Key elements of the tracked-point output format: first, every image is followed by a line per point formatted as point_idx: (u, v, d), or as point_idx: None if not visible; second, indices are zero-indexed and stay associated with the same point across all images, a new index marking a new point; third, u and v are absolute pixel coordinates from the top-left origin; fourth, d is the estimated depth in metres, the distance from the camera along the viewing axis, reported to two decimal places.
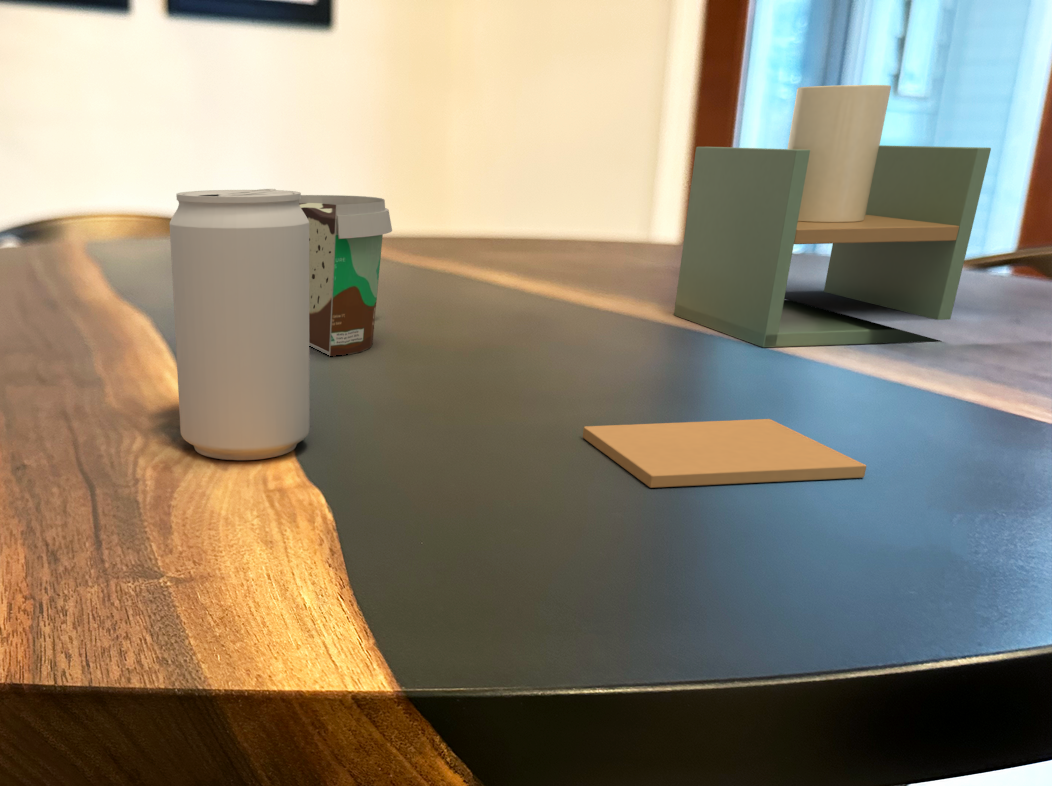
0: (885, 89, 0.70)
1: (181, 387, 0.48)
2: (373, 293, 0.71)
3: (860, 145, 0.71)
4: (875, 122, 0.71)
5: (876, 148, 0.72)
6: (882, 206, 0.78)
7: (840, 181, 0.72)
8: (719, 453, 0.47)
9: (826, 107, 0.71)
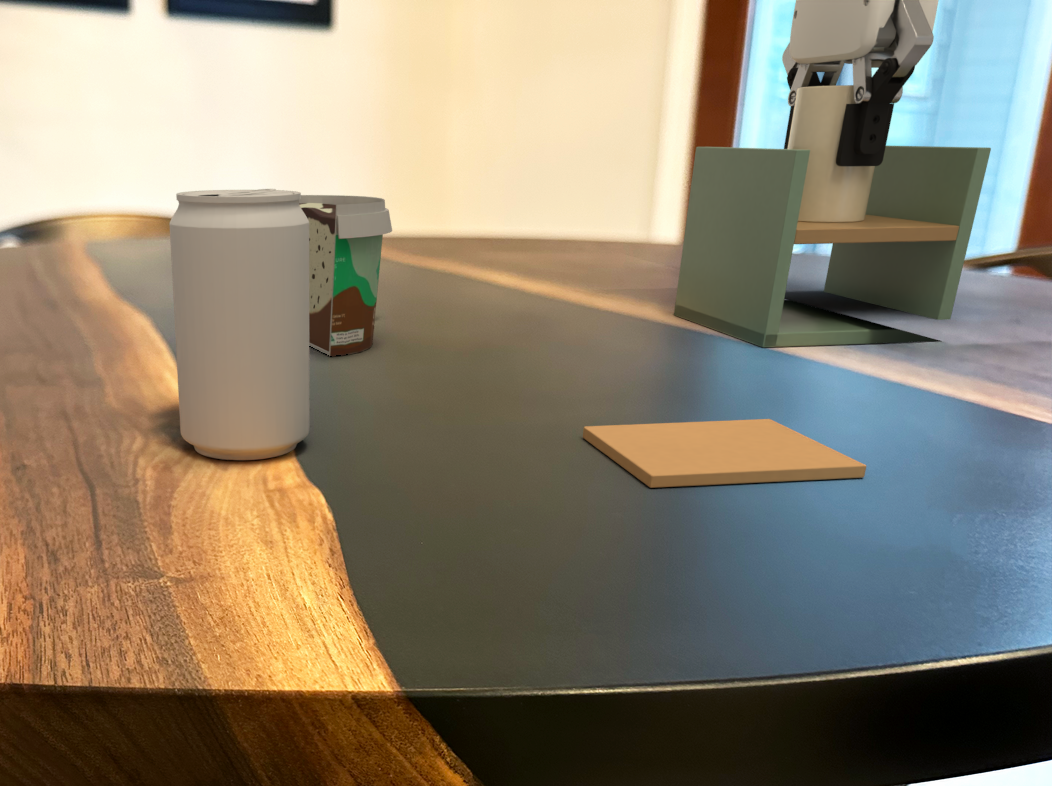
0: None
1: (181, 387, 0.48)
2: (373, 293, 0.71)
3: None
4: None
5: None
6: (882, 206, 0.78)
7: (840, 181, 0.72)
8: (719, 453, 0.47)
9: (826, 107, 0.71)
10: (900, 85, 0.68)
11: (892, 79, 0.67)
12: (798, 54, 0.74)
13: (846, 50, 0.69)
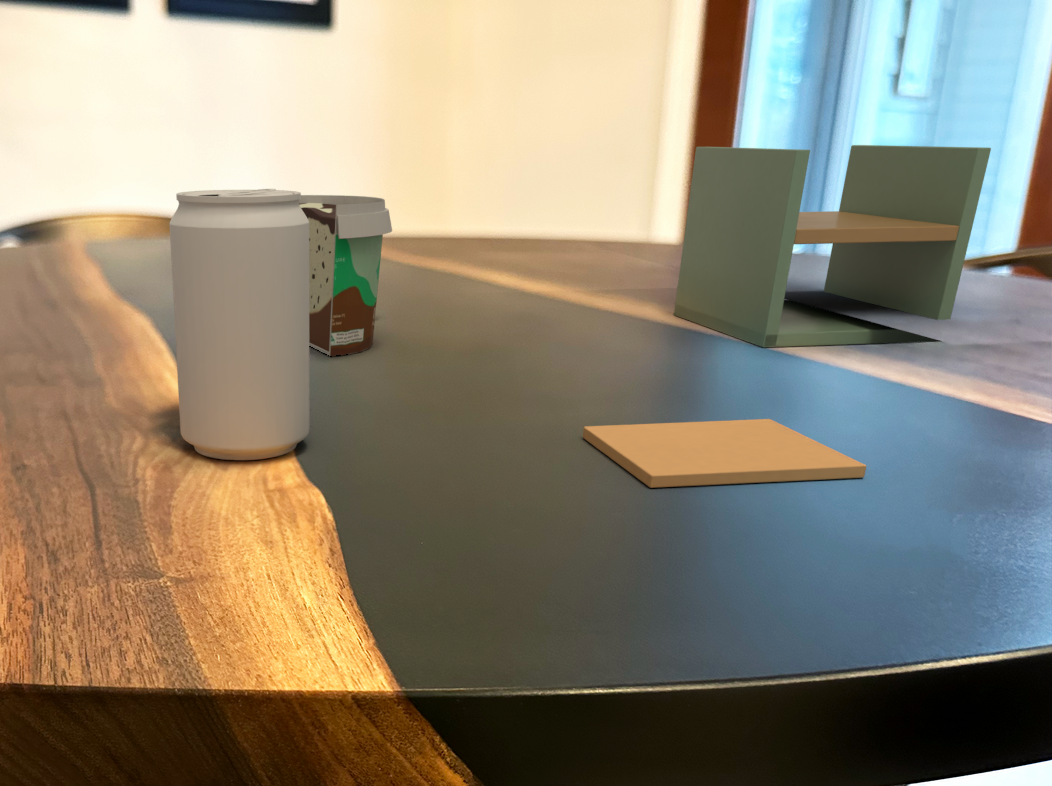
0: None
1: (181, 387, 0.48)
2: (373, 293, 0.71)
3: None
4: None
5: None
6: (882, 206, 0.78)
7: None
8: (719, 453, 0.47)
9: None
10: None
11: None
12: None
13: None
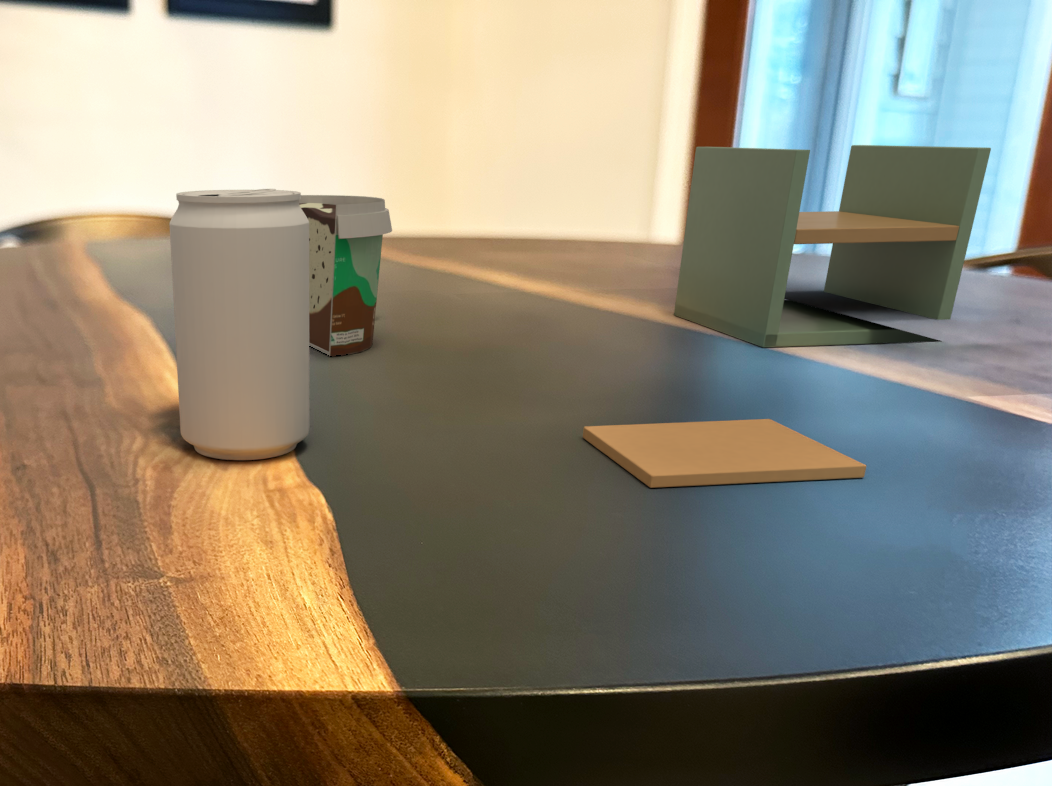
0: None
1: (181, 387, 0.48)
2: (373, 293, 0.71)
3: None
4: None
5: None
6: (882, 206, 0.78)
7: None
8: (719, 453, 0.47)
9: None
10: None
11: None
12: None
13: None
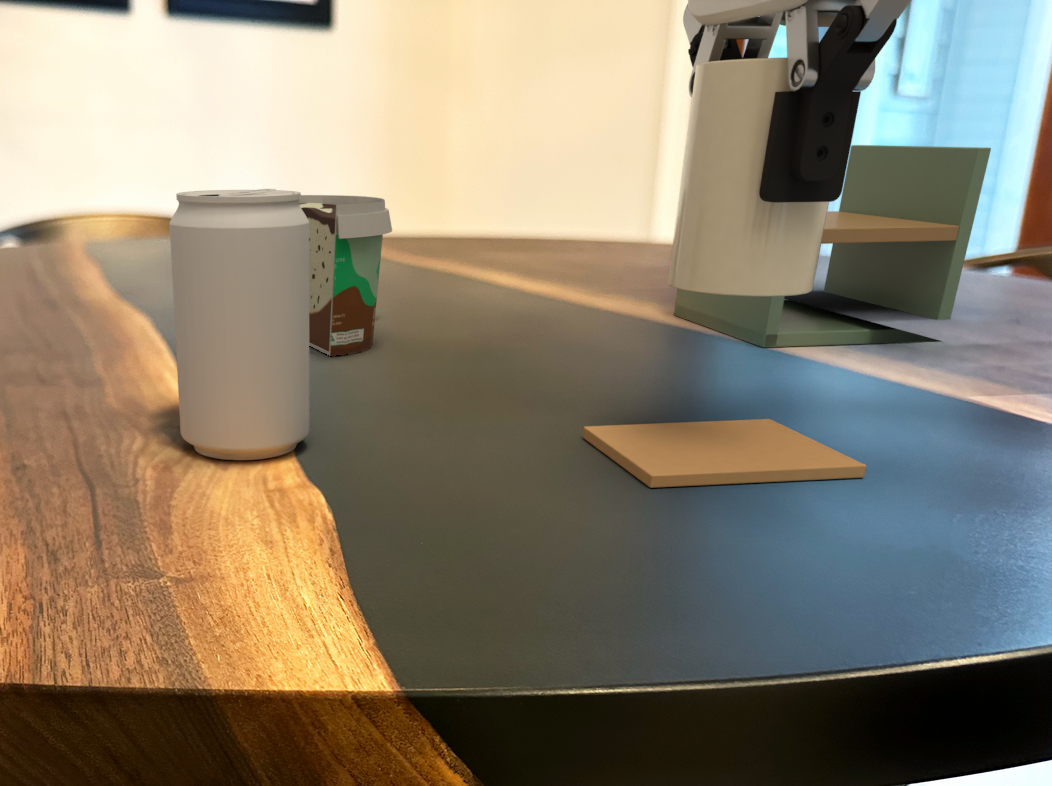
0: None
1: (181, 387, 0.48)
2: (373, 293, 0.71)
3: None
4: None
5: None
6: (882, 206, 0.78)
7: (767, 226, 0.41)
8: (719, 453, 0.47)
9: (740, 98, 0.40)
10: (870, 57, 0.37)
11: (855, 46, 0.37)
12: (700, 8, 0.43)
13: None
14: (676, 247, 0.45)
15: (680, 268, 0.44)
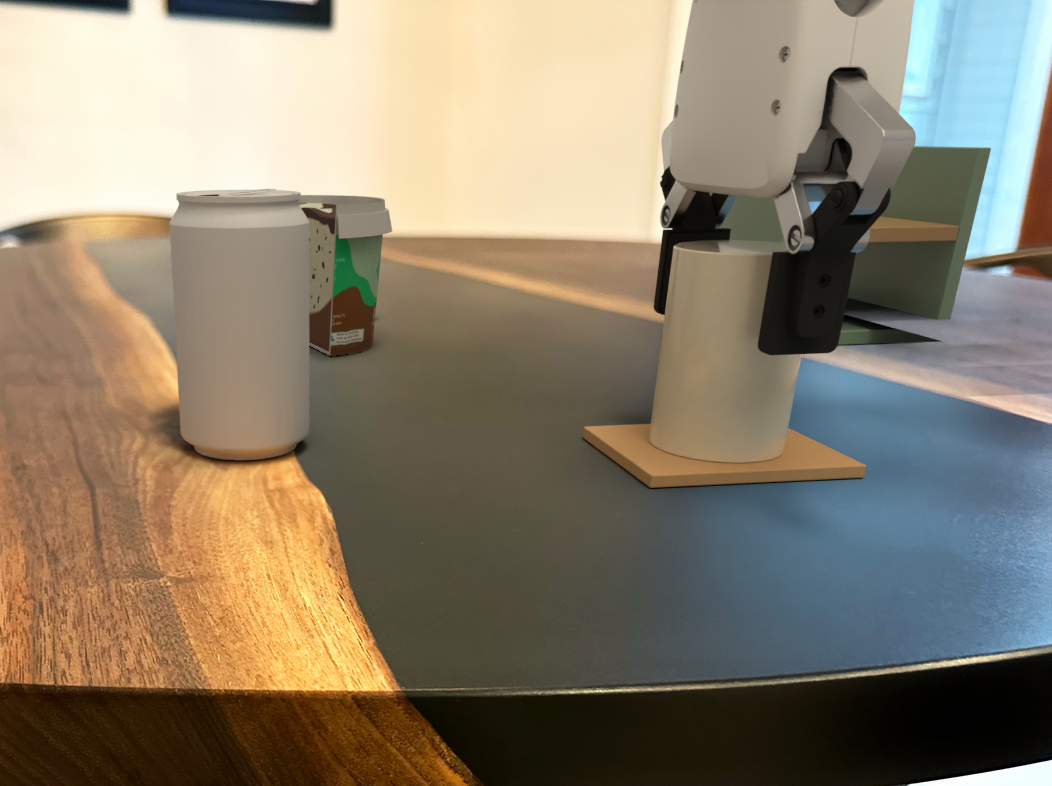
0: None
1: (181, 387, 0.48)
2: (373, 293, 0.71)
3: None
4: None
5: None
6: None
7: (739, 402, 0.44)
8: None
9: (713, 286, 0.43)
10: (865, 227, 0.38)
11: (854, 219, 0.38)
12: (681, 175, 0.46)
13: (747, 184, 0.41)
14: (656, 409, 0.47)
15: (659, 430, 0.47)
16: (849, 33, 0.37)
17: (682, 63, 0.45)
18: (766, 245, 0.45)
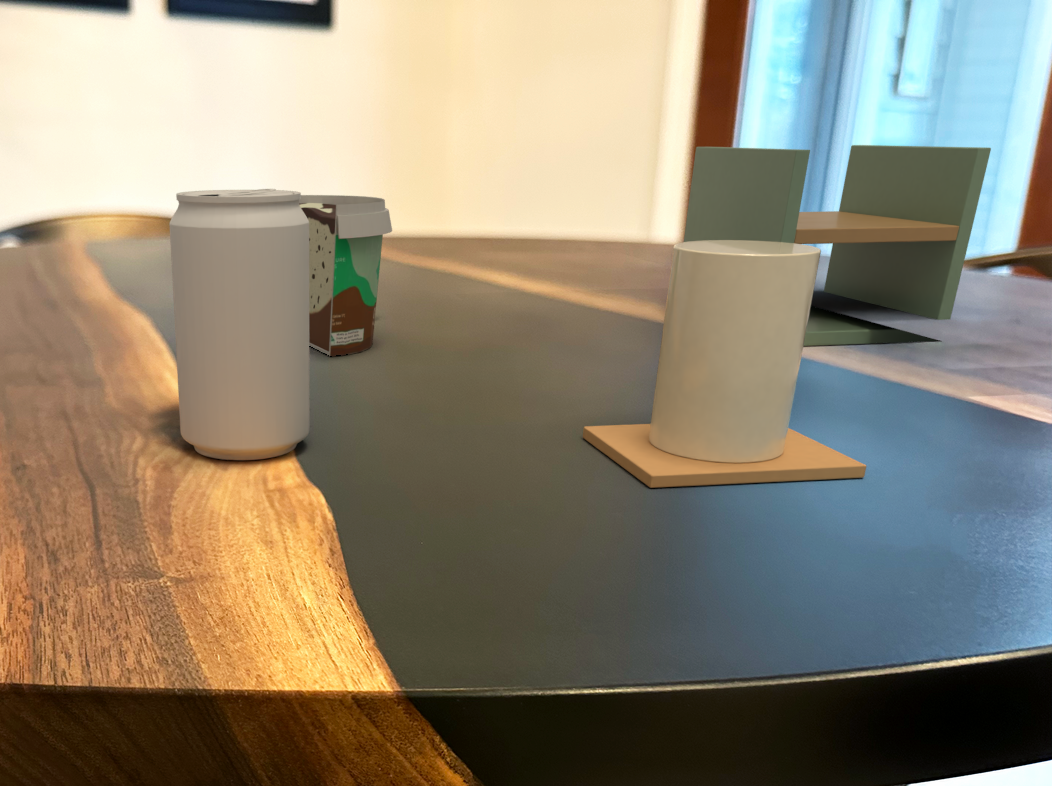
0: (810, 259, 0.42)
1: (181, 387, 0.48)
2: (373, 293, 0.71)
3: (770, 347, 0.43)
4: (794, 310, 0.43)
5: (798, 348, 0.44)
6: (882, 206, 0.78)
7: (739, 402, 0.44)
8: None
9: (713, 286, 0.43)
10: None
11: None
12: None
13: None
14: (656, 409, 0.47)
15: (659, 430, 0.47)
16: None
17: None
18: (766, 245, 0.45)
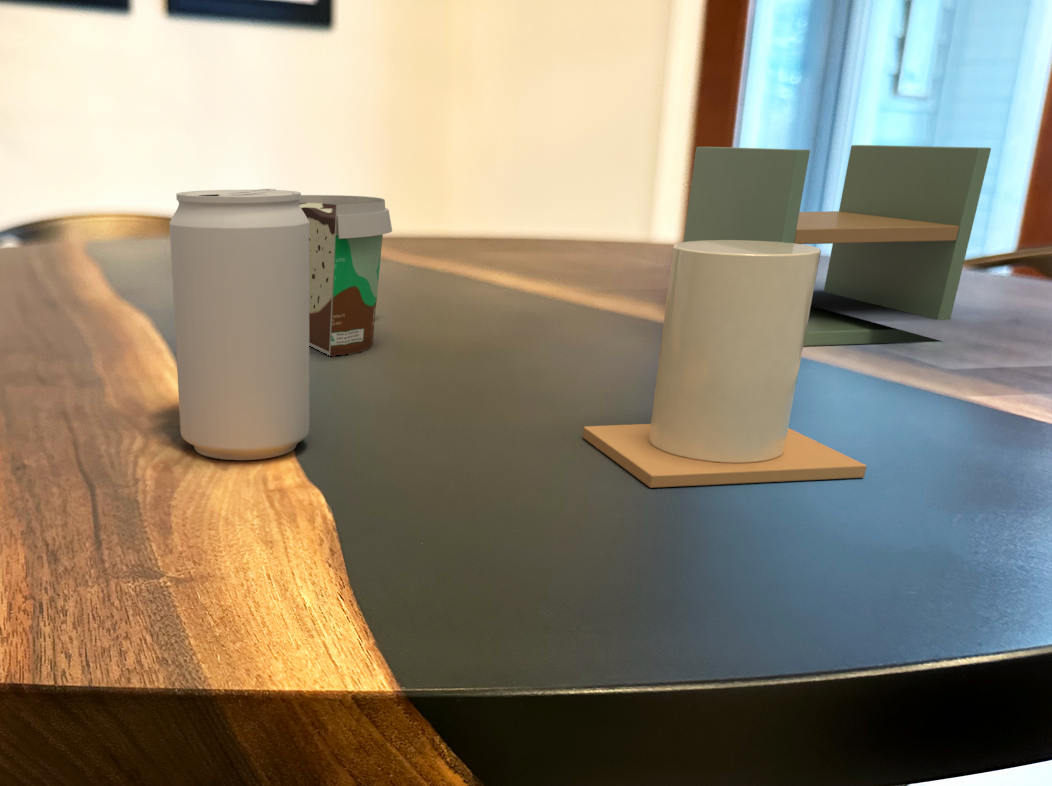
0: (810, 259, 0.42)
1: (181, 387, 0.48)
2: (373, 293, 0.71)
3: (770, 347, 0.43)
4: (794, 310, 0.43)
5: (798, 348, 0.44)
6: (882, 206, 0.78)
7: (739, 402, 0.44)
8: None
9: (713, 286, 0.43)
10: None
11: None
12: None
13: None
14: (656, 409, 0.47)
15: (659, 430, 0.47)
16: None
17: None
18: (766, 245, 0.45)
